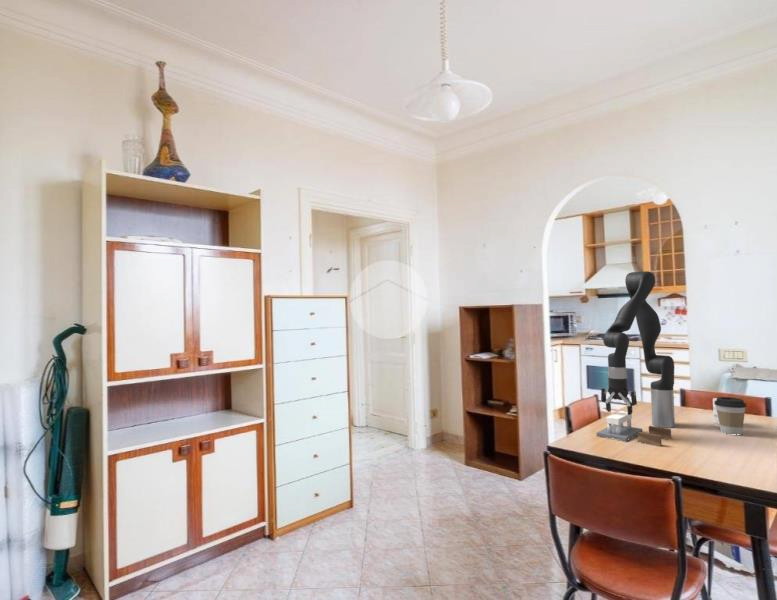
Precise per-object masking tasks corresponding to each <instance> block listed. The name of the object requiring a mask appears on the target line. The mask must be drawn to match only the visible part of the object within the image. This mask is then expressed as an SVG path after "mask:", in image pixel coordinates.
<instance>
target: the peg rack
mask: <svg viewBox="0 0 777 600" xmlns="http://www.w3.org/2000/svg"><path fill="white" fill-rule="evenodd" d="M626 422H627V423H626V424H627V425H624V423H622V424H620V425H615V424H609V423H606V424H607V426H606V428H604V429H601V430H600V431H598V432H596V437H599V436H601V437H600V438H604V437H608V438H607V439H609V438H614V439H619V440H618V441H620V440H624V441H623V442H625V441H626V442H628V441H629V440H628V439H630V438H631V439H633V438H635V437H637V436H638V432H643V428H641V427H635V426H632V419H630V420H628V421H626ZM636 435H637V436H636ZM634 436H635V437H634ZM632 437H633V438H632ZM614 439H613V440H614ZM631 439H630V440H631ZM627 440H628V441H627Z"/></svg>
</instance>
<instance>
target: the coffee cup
mask: <svg viewBox="0 0 777 600" xmlns="http://www.w3.org/2000/svg"><path fill="white" fill-rule="evenodd" d="M716 398H717V400H716V401H715V403H714V404H715V405H716V408H717V414H718V419H719V424H718V425H719V428H720V431H722V432H723V433H722V432H721V433H722V434H724V433H727V434H726V435H728V434H736V435H735V436H738V435H737V434H742V435H743V432H744V431H743V430H744V422H745V412H746V407H747V403H746V402H745V401H744V400H743V399H742V398H739V397H738V398H736V397H729V396H719V397H716Z"/></svg>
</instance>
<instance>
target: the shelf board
mask: <svg viewBox="0 0 777 600" xmlns="http://www.w3.org/2000/svg"><path fill="white" fill-rule="evenodd" d="M632 418H633V412H632V413H631V415H628V411H622V410H620V411H616V412H614V413H612V414H610V415H609V416H606V418H605V421H606V422H605V423H606V424H607V423H609V424H611V425H614V424H615V425H620V424H622V423H623V424H624V423H626V422H627V421H628V420H630V419H631V420H632Z"/></svg>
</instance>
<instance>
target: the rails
mask: <svg viewBox="0 0 777 600" xmlns="http://www.w3.org/2000/svg"><path fill="white" fill-rule="evenodd" d="M637 438H638V439H637V440H638V441H637V442H638V443H639V442H641V444H645V443H646V444H645V445H651V446H657V447H661V446H662V443H663V442H662V439H664V438H665V439H666V440H669V439H670V440H671V439H672V428H668V427H659V426H655V425H649V426H648V432H643V431H642V432H638V435H637ZM665 439H664V440H665Z"/></svg>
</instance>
